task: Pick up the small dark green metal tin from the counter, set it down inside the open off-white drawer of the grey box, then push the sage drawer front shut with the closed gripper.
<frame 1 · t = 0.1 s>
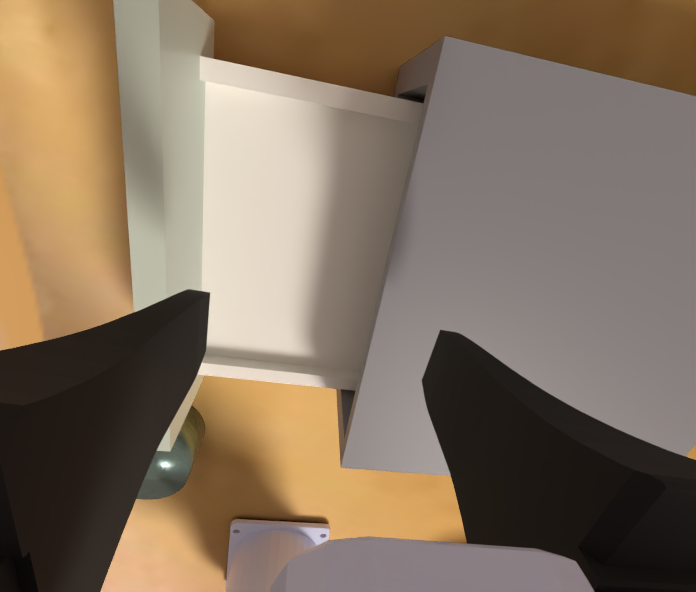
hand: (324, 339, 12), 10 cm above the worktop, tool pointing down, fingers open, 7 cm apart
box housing: (510, 272, 22), on the worktop
tin: (164, 424, 26), on the worktop
drawer tray: (356, 274, 17), point 4 cm above the worktop, slide at 8.0 cm
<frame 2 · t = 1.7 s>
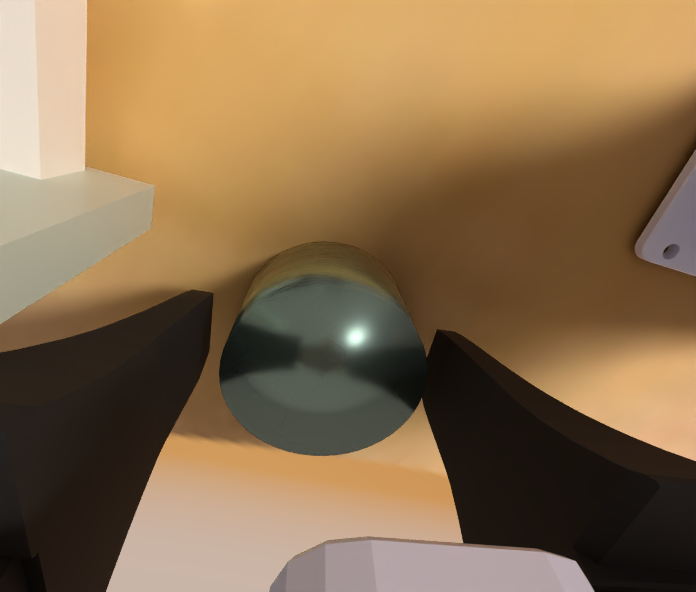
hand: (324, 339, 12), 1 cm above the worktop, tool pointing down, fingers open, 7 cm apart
tin: (324, 315, 13), on the worktop
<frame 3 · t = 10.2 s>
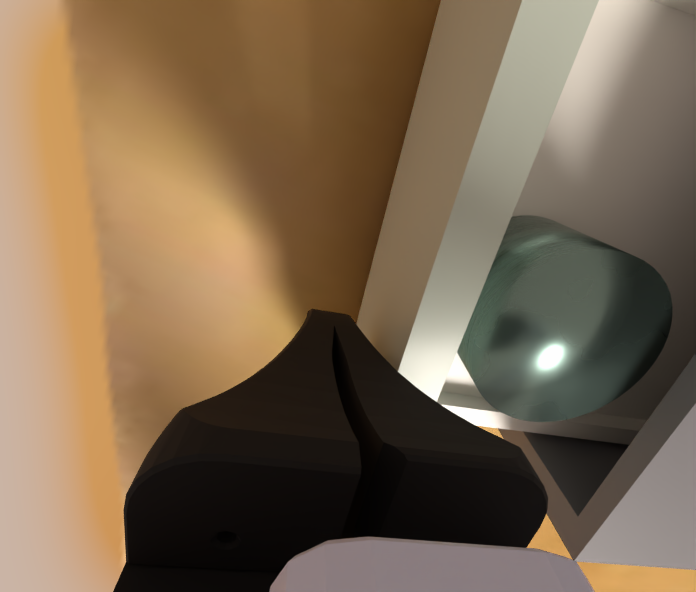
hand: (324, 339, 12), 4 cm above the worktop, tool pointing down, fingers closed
tin: (509, 290, 13), point 2 cm above the worktop, touching drawer tray
drawer tray: (672, 278, 11), point 4 cm above the worktop, slide at 6.4 cm, touching gripper, tin
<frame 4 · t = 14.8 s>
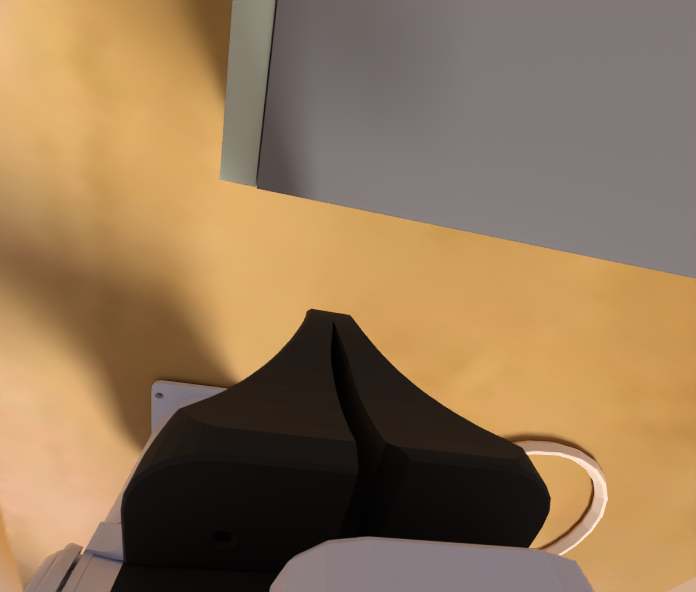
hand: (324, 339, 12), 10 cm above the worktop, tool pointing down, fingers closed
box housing: (505, 3, 17), on the worktop
hand towel holder: (485, 502, 32), on the worktop
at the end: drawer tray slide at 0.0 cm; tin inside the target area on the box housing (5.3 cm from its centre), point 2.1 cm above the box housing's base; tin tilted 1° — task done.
